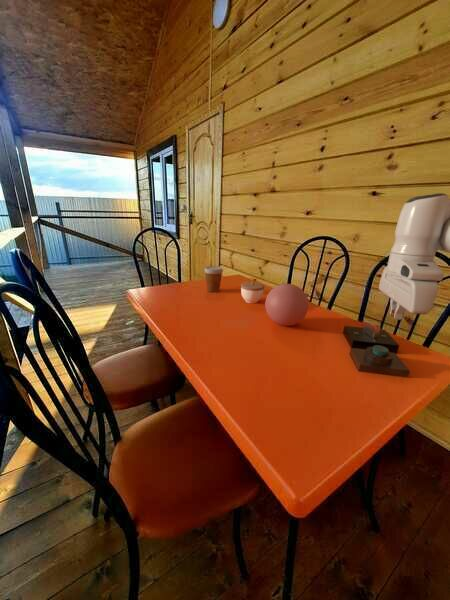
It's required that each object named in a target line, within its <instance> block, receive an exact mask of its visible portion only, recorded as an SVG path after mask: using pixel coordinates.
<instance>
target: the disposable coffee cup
mask: <svg viewBox="0 0 450 600" xmlns="http://www.w3.org/2000/svg"><path fill="white" fill-rule="evenodd" d="M203 271H204V275H205V283H206V284H205V285H206V291H207V292H209V293H218V292H220V288H221V281H222V275H223V272H224V269H223V268H222V267H221V266H216V265H210V266H205V267H204V270H203Z"/></svg>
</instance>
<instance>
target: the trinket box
mask: <svg viewBox="0 0 450 600" xmlns="http://www.w3.org/2000/svg"><path fill="white" fill-rule="evenodd" d="M264 291H265V284H263V283H260V282H257V281H256V282H255V280H254V281H244V282H242V283H241V284H240V294H241V297H242V299H243V300H244V301H245V302H246V303H248V304H257V303H259V301H260V300H262V298H263V296H264Z"/></svg>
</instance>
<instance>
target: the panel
mask: <svg viewBox="0 0 450 600" xmlns="http://www.w3.org/2000/svg"><path fill="white" fill-rule="evenodd" d="M363 328H364V327H360V326H351V325H344V326H343V331H342V334H343V337H344V339H345V340H346V341H347V343H348V345H349V348H350V349H351V348H357V349H365V350H366V349H367V348H368V347H373V346H375V345H380V346H383V347H386V348H387V349H388V351H389V352H392V353H395V354H396V355H397V354H398V352H399V348H400V345H399V343H398V342H397V341H396V340H395V339H394V338H393V336H392V335H390V334H389V333H388V331H386V329H381V328H380V331H379V335H378V339H373V338H371V337H370V336H369V335H367V334H366V333H365V332H364V331H363Z"/></svg>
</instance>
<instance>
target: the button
mask: <svg viewBox="0 0 450 600" xmlns="http://www.w3.org/2000/svg"><path fill="white" fill-rule="evenodd" d="M372 353H373V354H375V355H377V356H381V357H387V354H388V349H387V348H386V347H383V346H380V345H375V346H373V350H372Z"/></svg>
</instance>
